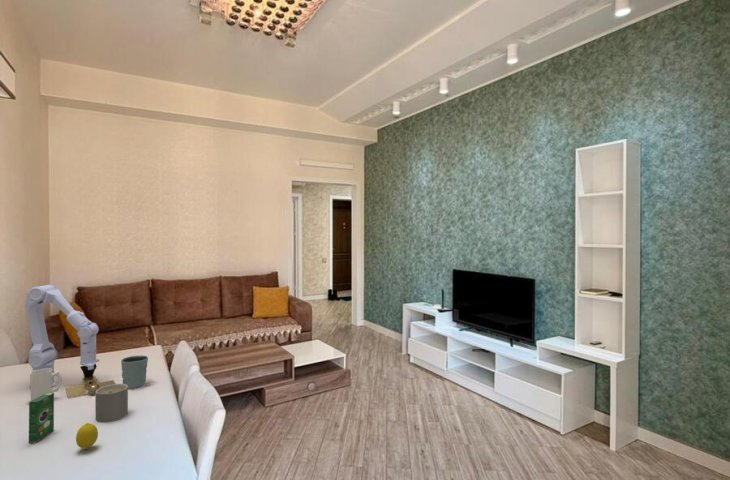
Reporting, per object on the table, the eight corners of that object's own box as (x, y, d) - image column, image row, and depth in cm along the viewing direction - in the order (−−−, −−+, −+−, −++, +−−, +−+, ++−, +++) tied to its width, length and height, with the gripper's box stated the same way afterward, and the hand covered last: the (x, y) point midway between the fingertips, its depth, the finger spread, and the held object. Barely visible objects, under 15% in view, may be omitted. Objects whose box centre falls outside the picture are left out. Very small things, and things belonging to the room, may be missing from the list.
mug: (28, 406, 152) (28, 375, 152) (31, 400, 157) (31, 370, 157) (61, 400, 158) (61, 370, 157) (62, 394, 163) (62, 365, 163)
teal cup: (115, 388, 170) (115, 360, 170) (137, 380, 180) (137, 354, 180) (132, 391, 167) (132, 363, 167) (153, 383, 176) (153, 356, 176)
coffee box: (45, 430, 133) (45, 392, 133) (54, 430, 133) (54, 391, 133) (27, 443, 125) (27, 402, 125) (37, 442, 125) (37, 401, 125)
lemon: (83, 444, 124) (83, 419, 124) (101, 444, 124) (101, 418, 124) (71, 454, 118) (71, 427, 118) (91, 453, 119) (91, 427, 119)
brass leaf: (65, 389, 168) (65, 381, 168) (95, 383, 175) (95, 375, 175) (68, 398, 159) (68, 389, 159) (99, 391, 166) (99, 383, 166)
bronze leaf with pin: (84, 388, 170) (84, 379, 170) (113, 382, 177) (113, 374, 177) (88, 396, 161) (88, 387, 161) (118, 389, 168) (118, 381, 168)
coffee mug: (130, 416, 143) (130, 389, 143) (97, 425, 137) (97, 396, 137) (123, 404, 154) (123, 379, 153) (92, 412, 147) (92, 385, 147)
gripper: (102, 353, 172) (102, 384, 172) (96, 346, 183) (96, 375, 183) (82, 356, 167) (82, 388, 167) (77, 349, 178) (77, 379, 178)
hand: (88, 381), depth 175 cm, fingers closed
